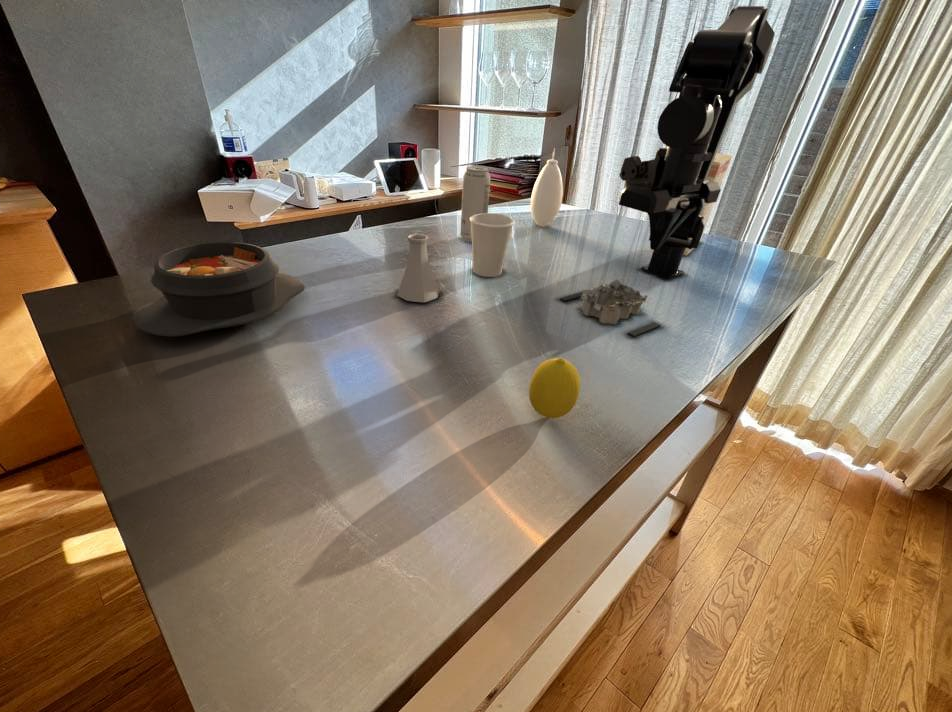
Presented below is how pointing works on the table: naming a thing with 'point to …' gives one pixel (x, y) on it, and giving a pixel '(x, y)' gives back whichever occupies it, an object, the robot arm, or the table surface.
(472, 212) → the energy drink can
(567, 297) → the bay strips
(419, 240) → the flask
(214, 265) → the casserole
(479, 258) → the dixie cup
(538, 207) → the air blower bulb
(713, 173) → the coffeecake box
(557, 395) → the lemon
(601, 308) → the tan rough lump
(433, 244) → the table surface
